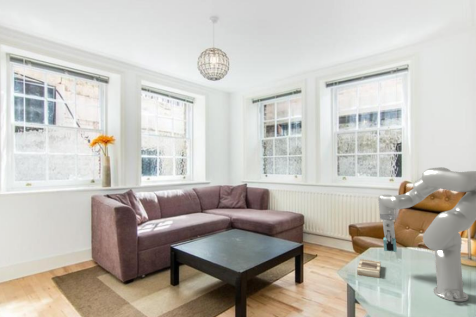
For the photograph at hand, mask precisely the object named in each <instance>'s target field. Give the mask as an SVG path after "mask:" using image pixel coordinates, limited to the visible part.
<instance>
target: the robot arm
mask: <svg viewBox="0 0 476 317" xmlns="http://www.w3.org/2000/svg"><path fill="white" fill-rule="evenodd" d="M439 190H446V191H452V192H457V193H465V194H464V195H463V196H462V197H461V198H460V199H459V200H458V202H457V203H456V204H455V206H454V207H453V208H452V209H449V210H445V211H442V212H440V213H438V215H436V216H435V218H434V219H433V220H432V221H431V223H429V226H428V227H427V228H426V230H425V231H424V233H423V234H422V241H423V243H424V245H425V246H426V247H427V248H428V249H430V250H431V251H434V262H435V274H436V276H435V277H436V287H434V288H433V293H434V294H435V296H437V297H439V298H442V299H445V300H447V301H452V302H461V303H462V302H467V301H469V295H468V294H467V293H466V292H465V291H464V284H463V269H462V254H461V251H462V236H461V234H460V232H465V231H467V230H468V229H470V228H471V227H472V226H473V224H474V223H475V222H476V170H468V171H452V170H450V169H449V168H446V167H431V168H427V169H425V170H424V171H423V173H422V174H421V178H419V179H417V180H416V181H414V182H413V188H412V189H411V190H409V191H407V192H406V193H402V194H396V195H391V194H380V195H378V197H377V198H378V199H377V200H378V201H377V202H378V212H379V219H380V220H381V221H382V226H383V234H384V238H386V240H387V243H386V245H387V250H388V251H387V252H392V251H394V249H393V243H392V238H396V234H395V233H396V232H395V223H394V221H395V220H396V213H395V210H397V211H399V210H403V209H409V208H411V207H413V206H415V205H417V204H420V203H421V202H422V201H424V200H425V199H426V198H427V197H428V196H429V195H432V194H434V193H435V192H436V191H437V192H438V191H439Z"/></svg>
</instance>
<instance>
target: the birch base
mask: <svg viewBox="0 0 476 317" xmlns="http://www.w3.org/2000/svg"><path fill="white" fill-rule="evenodd" d="M381 263H382V262H381V261H378V260H370V259H364V258H363V259H362V258H360V260H359V263H358V265H357V268H356V273H357V276H363V277H369V278H370V277H371V278H377V279H380V276H381V275H380V274H381V268H382V264H381Z"/></svg>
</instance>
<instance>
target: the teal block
mask: <svg viewBox="0 0 476 317" xmlns="http://www.w3.org/2000/svg"><path fill="white" fill-rule="evenodd" d="M396 241H397V238H396V237H395V238H392V243H393V249H394V251H391V252H393V253H394V252H395V253H397V251H398V250H397V242H396ZM386 243H387V240H386V238H385V237H383V251H384V252H389V251H388V250H387V245H386Z"/></svg>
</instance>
